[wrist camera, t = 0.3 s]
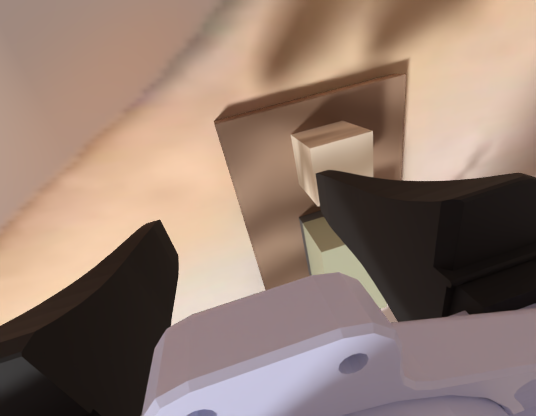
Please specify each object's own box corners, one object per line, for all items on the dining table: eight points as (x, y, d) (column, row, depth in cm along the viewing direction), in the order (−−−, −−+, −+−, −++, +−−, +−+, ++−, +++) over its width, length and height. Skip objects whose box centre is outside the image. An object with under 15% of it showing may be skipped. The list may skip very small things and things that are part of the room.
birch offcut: (345, 170, 21) (373, 189, 17) (298, 184, 21) (317, 206, 17) (342, 120, 19) (372, 131, 15) (290, 134, 19) (309, 148, 15)
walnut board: (388, 253, 28) (397, 262, 27) (266, 292, 27) (269, 303, 26) (392, 74, 20) (406, 74, 18) (214, 120, 19) (214, 124, 17)
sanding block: (356, 268, 26) (386, 306, 22) (310, 283, 26) (331, 325, 22) (353, 200, 22) (388, 231, 18) (298, 217, 22) (321, 252, 18)
